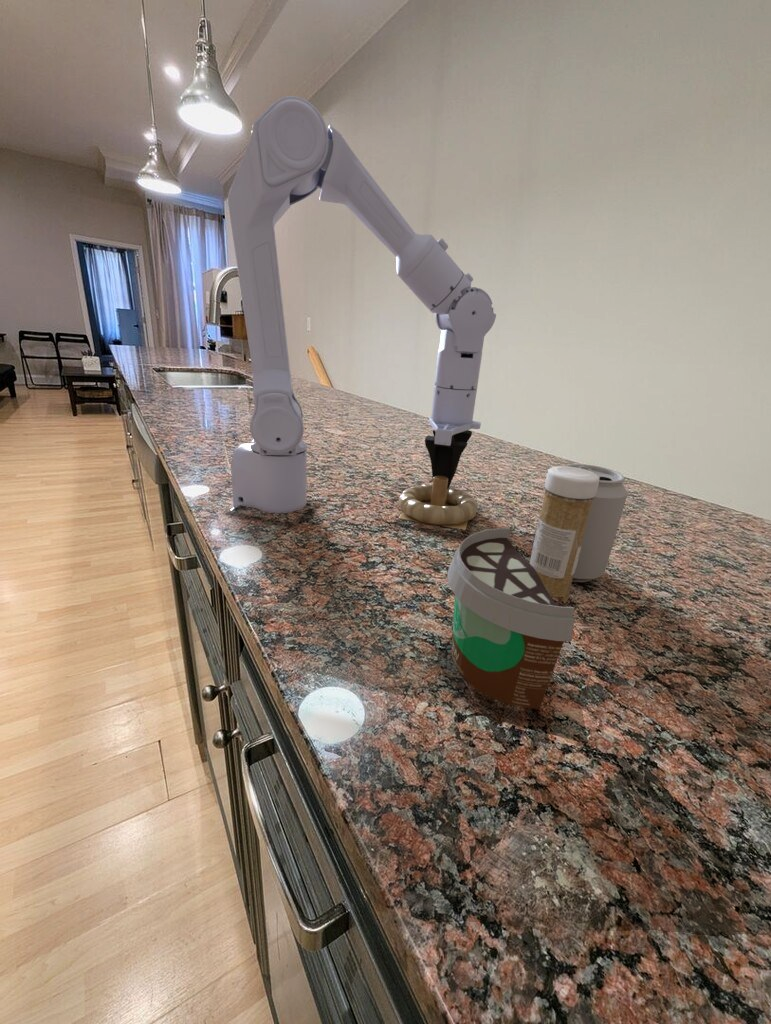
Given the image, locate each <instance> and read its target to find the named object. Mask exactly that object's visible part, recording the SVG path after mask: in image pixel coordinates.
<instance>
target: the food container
mask: <svg viewBox="0 0 771 1024" xmlns="http://www.w3.org/2000/svg"><path fill="white" fill-rule="evenodd" d="M511 530H512V529H511V528H510V527H500V528H499V527H498V528H491V529H483V530H480V531H476V532H474V533H471V534H470V535H468V536H467V537H466V538H464V539H463V540H462V541H461V543H460V545H459V546H458V547H457V549H456V550H455V552H454V555H453V557H452V560H451V562H450V565H449V567H448V569H447V577H446V578H447V583H448V586H449V588H450V590H451V591H452V593H453V594H454V602H453V603H454V604H453V618H452V637H451V653H450V654H451V659H452V662H453V664H454V667H455V669H456V670H457V672H458V673H459V675H460V676H461V677H462V678H463V679H464V681H465V682H467V683H468V684H469V685H470V686H472V688H474V689H475V690H477V691H478V692H480V693H482V694H483V695H485V696H487V697H489V698H490V699H492V700H496V701H497V702H500V703H503V704H505V705H510V706H513V707H518V708H525V709H539V710H540V709H541V706H542V704H543V701H544V698H545V695H546V693H547V690H548V687H549V684H550V682H551V678H552V675H553V673H554V670H555V667H556V664H557V662H558V659H559V656H560V653H561V650H562V648H563V645H564V642H572V640H573V632H574V626H575V625H574V624H575V619H574V615H575V614H574V613H575V610H576V608H575V606H574V607H573V606H559V605H558V604H557V603H556V601H555V600H554V598H553V597H551V596H550V594H549V593H548V591H547V590H546V588H545V586H544V584H543V583H542V581H541V579H540V577H539V575H538V574H537V572H536V570H535V569H534V567H533V566H531V564H530V561H528V560H526V559H525V558H524V557H523V555H521V554H520V553H519V552H518V551H517V549H516V548H515V546H514V545H513V544H512V542H511V541H510V537H511Z"/></svg>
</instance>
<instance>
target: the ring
mask: <svg viewBox="0 0 771 1024" xmlns="http://www.w3.org/2000/svg"><path fill="white" fill-rule="evenodd" d="M432 487H433V484H417V485H415V486H411V487H407V488H405V489H404V490H403V491H402V493H401V494H400V495H399V497H398V501H397V503H398V506H399V507H400V509H401V510H402V512H404V513H405V514H406V515H408V516H410V517H412V518H414V519H417V520H419V521H421V522H420V523H422V522H426V523H425V524H428V523H432V524H431V525H434V524H438V525H437V526H440V525H452V524H461V523H463V522H466V521H468V522H469V521H470V520H473V519H474V518H475V517H476V515H477V513H478V512H477V511H478V508H479V503H478V501H477V500H476V499H475V498H474V497H473V496H472V495H471V494H470V493H468V492H467V491H465V490H461V489H459V488H455V487H453V486H449V488H448V489H447V493H446V501H445V503H449V504H452V505H454V506H443V507H441V506H435V505H429V504H425V503H423V502H421V501H431V496H432Z"/></svg>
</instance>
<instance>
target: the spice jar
mask: <svg viewBox="0 0 771 1024" xmlns="http://www.w3.org/2000/svg"><path fill="white" fill-rule="evenodd" d="M599 480H600V479H599V476H598V475H597V474H595V473H593V472H591V471H588V470H585V469H581V468H576V467H569V466H565V465H556V466H553V467H552V466H551V467H550V468H549V469H548V470H547V472H546V478H545V482H544V496H543V501H542V506H541V510H540V514H539V517H538V521H537V525H536V531H535V535H534V539H533V544H532V549H531V554H530V559H529V563H530V564H531V566H533V567H534V569H535V570H536V572H537V574H538V575H539V577H540V579H541V581H542V583H543V584H544V586H545V588H546V590H547V591H548V593H549V594H550V596H551V597H552V598H561V597H562V601H563V604H564V605H565V604H566V603H567V602H568V600H569V599H570V590H571V586H572V584H573V583H572V582H573V581H572V578H573V575H574V573H575V570H576V566H577V563H578V559H579V554H580V550H581V543H582V539H583V535H584V531H585V527H586V524H587V520H588V516H589V511H590V506H591V502H592V501H593V499H594V497H595V496H596V493H597V489H598V485H599Z"/></svg>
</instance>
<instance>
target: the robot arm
mask: <svg viewBox="0 0 771 1024" xmlns="http://www.w3.org/2000/svg"><path fill="white" fill-rule="evenodd" d="M318 189H320V193H319V201H320V202H325V203H326V202H327V203H332V204H333V203H334V204H341V205H345V206H346V207H347V208H348V209H349V210H350V211H351V213H353V215H354V216H355V217H357V219H358V220H359V221H360V222H361V223H363V224H364V226H365V227H366V228H367V229H368V230H369V231H370V232H371V233H372V234H373V235H374V236H375V237H376V238H377V239H378V241H380V242H381V243H382V244H383V245H384V246H385V247H386V248H387V249H388V250H389V251H390V252H391V253H392V254H393V255H394V257H395V261H396V262H395V263H396V275H397V276H398V277H399V279H400V280H401V281H402V282H403V283H404V284H405V285H406V286H407V288H408V289H410V290H411V292H412V293H413V294H414V295H415V296H416V297H417V298H418V299H419V301H420V302H421V303H422V304H423V306H425V307H426V308H427V309H428V310H429V312H430V313H432V314H434V318H435V323H436V326H437V328H438V329H439V330H440V334H439V335H440V336H439V345H438V349H437V357H436V368H435V376H434V377H435V378H434V386H433V387H434V388H433V397H432V404H431V415H430V417H429V420H428V424H429V426H430V427H431V428H432V429H433V430H432V434H433V435H426V437H425V438H424V445H425V448H426V451H427V453H428V455H429V459H430V466H431V475H432V478H431V479H433V478H434V476H445V477H447V478H448V485H447V489H448V488H449V487H451V483H452V481H453V479H454V477H455V475H456V472H457V469H458V466H459V463H460V459H461V456H462V454H463V452H464V451H465V449H466V448H467V447H468V444H469V443H468V441H469V440H470V439H471V437H472V435H473V431H472V429H473V430H480V429H481V426H482V422H480V421H477V420H476V421H475V420H473V419H474V413H475V406H476V399H477V393H478V386H479V379H480V371H481V366H482V365H481V364H482V358H483V349H484V341H485V336H486V335H487V334H488V332H490V330H491V329H492V328H493V326H494V324H495V322H496V319H497V314H496V313H495V312H494V307H493V306H492V305H493V301H492V299H491V296H490V295H489V294H488V292H486V291H485V290H484V289H483V288H478V287H475V286H472V282H473V281H474V278H473V276H472V275H471V274H470V273H469V272H468V273H464V272H463V270H462V269H461V268H460V267H459V266H458V265H457V263H456V262H455V260H454V259H453V258H452V256H450V255H449V253H448V252H447V249H448V248H449V245H448V243H447V242H446V241H445V240H444V238H439V239H436V238H435V237H434V236H433V234H428V233H426V234H425V233H424V234H420V233H416V232H415V231H414V229H413V228H412V227H411V225H410V224H409V223H408V222H407V220H406V219H405V218H404V217H403V215H402V213H400V211H399V210H398V209H397V207H396V206H395V205H394V204H393V202H392V201H391V199H390V198H389V197H388V196H387V194H386V193H385V191H383V189H382V188H381V186H380V185H379V184H378V182H376V179H374V178H373V176H372V175H371V173H370V172H369V171H368V170H367V168H366V167H365V166H364V164H363V163H362V162H361V161H360V159H359V158H358V157H357V155H356V154H355V152H354V151H353V150H352V148H351V147H350V145H349V144H348V142H347V141H346V139H345V138H344V137H343V135H342V134H341V132H339V131H338V130H337V129H336V128H335V127H334V126H332V124H328V127H327V125H326V122H325V120H324V117H323V116H322V115H321V112H320V111H319V110H318V109H317V108H316V106H315V105H313V104H312V103H311V102H310V101H308V100H307V99H305V98H303V97H299V96H296V95H287V96H283V97H280V98H278V99H277V100H275V101H274V102H272V104H270V106H269V107H268V108H266V109H265V111H264V112H263V113H262V114H260V115H259V117H257V118H256V119H255V120H254V122H253V124H252V127H251V132H250V136H249V139H248V143H247V147H246V148H245V151H244V154H243V156H242V159H241V162H240V164H239V165H238V169H237V171H236V174H235V176H234V179H233V181H232V183H231V186H230V189H229V191H228V197H227V206H228V212H229V219H230V226H231V227H230V228H231V234H232V240H233V247H234V253H235V254H234V255H235V261H236V268H237V275H238V281H239V288H240V289H239V290H240V294H241V301H242V308H243V315H244V316H243V317H244V323H245V329H246V337H247V342H248V349H249V351H248V352H249V356H250V363H251V370H252V395H253V396H252V397H253V400H254V408H253V413H252V415H251V418H250V422H249V431H250V435H251V437H252V440H251V441H250V443H241V444H240V445H239V446H238V447H236V449H235V450H234V451H233V452H234V453H233V455H232V458H231V462H230V475H231V489H232V504H233V507H232V508H230V511H233V510H234V509H237V508H238V507H239V506H243V507H249V508H254V509H256V510H259V511H262V512H266V513H271V514H272V513H273V514H284V513H285V514H286V513H293V512H296V511H299V510H302V509H304V508H305V507H306V506H307V504H308V502H307V500H308V497H307V496H308V493H307V492H308V491H307V489H308V487H307V486H308V484H307V483H308V482H307V481H308V476H307V474H308V473H307V471H308V470H307V469H308V468H307V464H308V463H307V462H308V461H307V459H308V458H307V455H308V454H307V452H308V451H307V448H308V447H307V443H306V442H305V441H303V440H302V439H303V436H304V432H305V431H304V430H305V429H304V422H303V416H304V415H303V414H304V413H303V409H302V405H301V404H300V402H299V400H298V399H297V398H296V396H295V393H294V389H293V383H292V382H293V380H292V373H291V365H290V357H289V348H288V340H287V339H288V338H287V331H286V330H287V329H286V323H285V321H286V320H285V313H284V304H283V294H282V286H281V277H280V267H279V259H278V249H277V242H276V233H275V226H276V224H277V223H278V222H279V221H280V219H281V218H283V216H284V215H285V214H286V213H287V211H288V210H289V209H290V208H291V206H293V205H295V204H297V203H298V202H300V201H303V200H304V199H306V198H308V197H310V196H312V195H313V194H314V193H315V192H316V191H317V190H318Z"/></svg>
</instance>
